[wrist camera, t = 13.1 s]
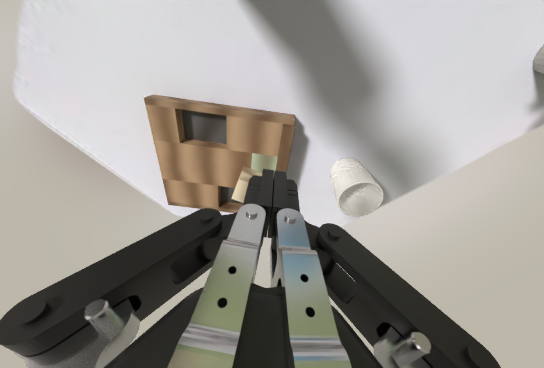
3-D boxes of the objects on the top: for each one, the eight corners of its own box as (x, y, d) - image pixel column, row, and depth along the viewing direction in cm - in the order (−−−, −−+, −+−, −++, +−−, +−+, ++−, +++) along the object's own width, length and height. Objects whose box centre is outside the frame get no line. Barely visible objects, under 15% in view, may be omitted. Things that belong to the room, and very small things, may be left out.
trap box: (174, 196, 49) (164, 210, 45) (153, 94, 36) (136, 100, 31) (276, 209, 50) (275, 224, 46) (294, 114, 37) (295, 123, 32)
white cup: (372, 164, 42) (394, 193, 34) (347, 190, 46) (362, 221, 38) (342, 148, 40) (357, 174, 32) (319, 177, 44) (328, 206, 36)
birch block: (236, 184, 42) (231, 198, 38) (243, 165, 40) (239, 179, 36) (257, 192, 43) (255, 207, 39) (266, 174, 41) (264, 188, 37)
